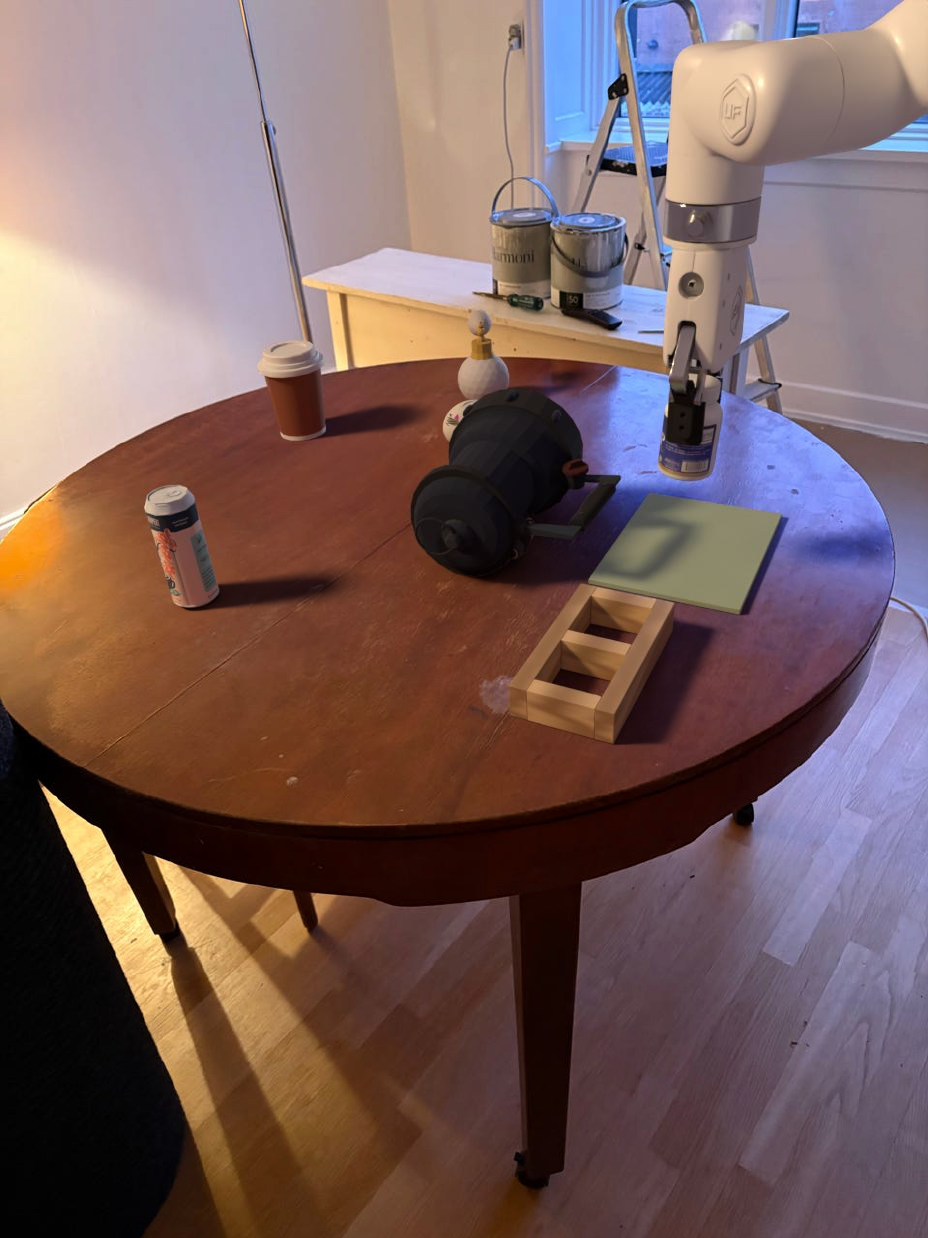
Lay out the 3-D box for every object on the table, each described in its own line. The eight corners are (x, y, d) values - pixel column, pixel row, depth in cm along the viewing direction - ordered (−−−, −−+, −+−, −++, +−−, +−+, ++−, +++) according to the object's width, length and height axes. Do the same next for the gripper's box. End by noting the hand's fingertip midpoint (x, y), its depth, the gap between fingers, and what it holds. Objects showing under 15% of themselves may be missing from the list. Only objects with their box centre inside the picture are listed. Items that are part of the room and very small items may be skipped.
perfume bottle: (472, 414, 128) (467, 330, 121) (445, 394, 135) (438, 314, 128) (519, 403, 130) (516, 320, 123) (489, 383, 137) (485, 304, 130)
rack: (672, 631, 82) (675, 602, 80) (613, 744, 70) (614, 713, 68) (580, 611, 85) (580, 583, 84) (509, 715, 74) (508, 685, 72)
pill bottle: (668, 453, 88) (681, 366, 83) (719, 465, 86) (736, 376, 81) (648, 474, 84) (660, 384, 79) (702, 487, 82) (718, 396, 77)
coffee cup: (341, 418, 130) (328, 336, 123) (327, 444, 122) (312, 358, 115) (281, 419, 131) (265, 338, 124) (263, 445, 123) (245, 360, 117)
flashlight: (466, 491, 107) (631, 507, 101) (399, 595, 92) (588, 621, 86) (453, 377, 98) (633, 386, 92) (376, 471, 83) (585, 490, 77)
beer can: (172, 591, 93) (141, 488, 86) (218, 581, 94) (191, 479, 87) (174, 615, 90) (141, 509, 83) (222, 604, 90) (193, 499, 84)
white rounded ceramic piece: (464, 466, 113) (460, 417, 110) (434, 453, 117) (430, 405, 114) (510, 447, 117) (508, 398, 114) (480, 435, 121) (477, 387, 118)
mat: (781, 518, 97) (782, 513, 97) (739, 615, 83) (740, 609, 83) (648, 497, 104) (648, 492, 103) (588, 583, 89) (588, 578, 89)
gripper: (732, 247, 65) (709, 474, 75) (779, 201, 77) (754, 401, 87) (633, 243, 68) (624, 462, 78) (693, 199, 80) (678, 393, 90)
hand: (693, 428), depth 83 cm, fingers closed on pill bottle, 5 cm apart
